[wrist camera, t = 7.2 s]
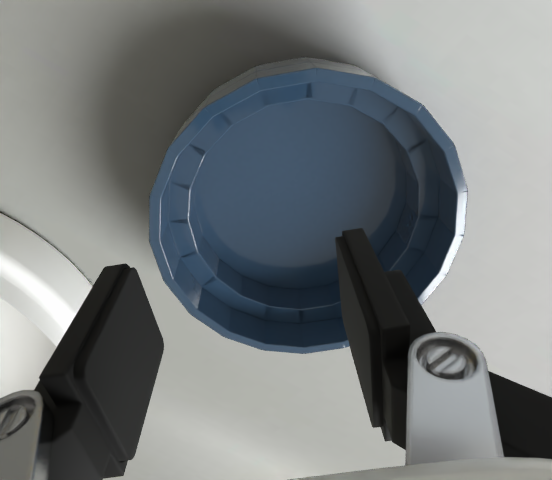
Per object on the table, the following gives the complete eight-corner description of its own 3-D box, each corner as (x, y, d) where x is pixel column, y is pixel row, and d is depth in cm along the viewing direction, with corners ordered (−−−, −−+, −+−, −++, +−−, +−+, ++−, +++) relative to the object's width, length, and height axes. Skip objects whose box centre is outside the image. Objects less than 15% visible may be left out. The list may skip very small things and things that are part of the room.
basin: (433, 32, 23) (480, 38, 18) (426, 282, 31) (457, 332, 26) (131, 85, 23) (99, 105, 19) (204, 315, 32) (195, 370, 27)
